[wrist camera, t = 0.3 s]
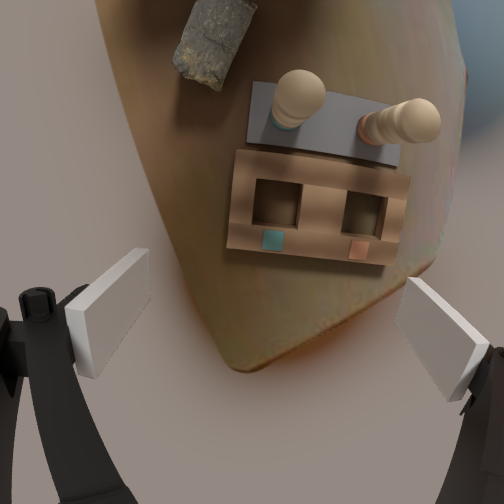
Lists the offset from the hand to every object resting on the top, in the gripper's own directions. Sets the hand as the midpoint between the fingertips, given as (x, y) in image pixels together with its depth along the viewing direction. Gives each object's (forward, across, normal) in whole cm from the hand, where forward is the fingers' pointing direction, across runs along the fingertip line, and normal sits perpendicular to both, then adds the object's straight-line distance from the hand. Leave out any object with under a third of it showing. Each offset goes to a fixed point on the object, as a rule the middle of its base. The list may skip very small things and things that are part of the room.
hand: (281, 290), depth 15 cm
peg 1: (+25, +1, +12) cm, 28 cm away
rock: (+26, -8, +22) cm, 35 cm away
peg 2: (+25, +12, +12) cm, 30 cm away
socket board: (+26, +6, +1) cm, 27 cm away
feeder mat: (+26, +6, +12) cm, 29 cm away
